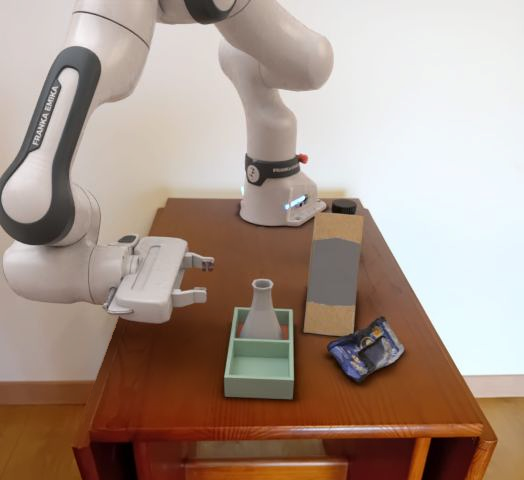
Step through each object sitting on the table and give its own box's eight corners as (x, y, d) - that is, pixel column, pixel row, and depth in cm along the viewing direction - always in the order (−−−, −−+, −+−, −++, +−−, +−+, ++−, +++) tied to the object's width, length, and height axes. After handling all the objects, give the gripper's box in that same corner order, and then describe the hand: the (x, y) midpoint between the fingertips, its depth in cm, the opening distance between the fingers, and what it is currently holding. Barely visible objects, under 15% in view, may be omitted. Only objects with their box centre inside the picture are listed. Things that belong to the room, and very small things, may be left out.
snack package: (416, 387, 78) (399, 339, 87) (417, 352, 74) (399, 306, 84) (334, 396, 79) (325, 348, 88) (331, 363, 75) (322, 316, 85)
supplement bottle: (328, 268, 108) (335, 210, 101) (315, 254, 113) (320, 198, 106) (359, 264, 110) (368, 207, 103) (345, 250, 115) (352, 195, 108)
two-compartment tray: (234, 324, 90) (234, 307, 88) (291, 327, 90) (292, 309, 88) (224, 396, 75) (224, 377, 73) (292, 399, 75) (293, 380, 73)
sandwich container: (301, 333, 89) (308, 249, 80) (308, 288, 101) (314, 211, 92) (354, 337, 88) (366, 253, 79) (354, 291, 100) (364, 214, 91)
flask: (286, 351, 83) (289, 295, 77) (239, 352, 83) (239, 296, 77) (281, 325, 89) (284, 271, 83) (237, 326, 89) (237, 272, 83)
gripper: (94, 292, 70) (200, 296, 70) (130, 228, 87) (216, 231, 86) (102, 332, 74) (202, 336, 73) (135, 264, 90) (217, 266, 90)
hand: (210, 279), depth 80 cm, fingers open, 8 cm apart
